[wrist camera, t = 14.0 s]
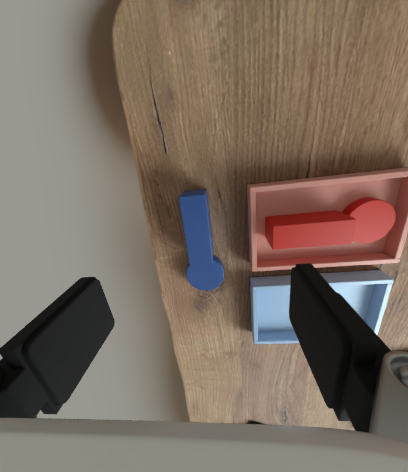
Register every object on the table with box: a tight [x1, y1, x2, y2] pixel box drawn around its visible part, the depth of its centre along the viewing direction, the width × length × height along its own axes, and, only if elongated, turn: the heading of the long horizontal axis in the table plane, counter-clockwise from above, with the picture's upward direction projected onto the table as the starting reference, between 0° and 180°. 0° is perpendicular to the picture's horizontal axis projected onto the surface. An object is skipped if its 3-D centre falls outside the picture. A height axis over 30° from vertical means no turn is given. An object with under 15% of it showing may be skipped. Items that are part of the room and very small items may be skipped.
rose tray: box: [247, 167, 408, 272], centre depth 19 cm, size 9×14×2 cm, turn 97°
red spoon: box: [265, 197, 396, 250], centre depth 18 cm, size 12×4×3 cm, turn 97°
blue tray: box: [250, 270, 393, 344], centre depth 23 cm, size 9×14×2 cm, turn 97°
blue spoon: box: [179, 189, 224, 290], centre depth 21 cm, size 12×4×3 cm, turn 7°
